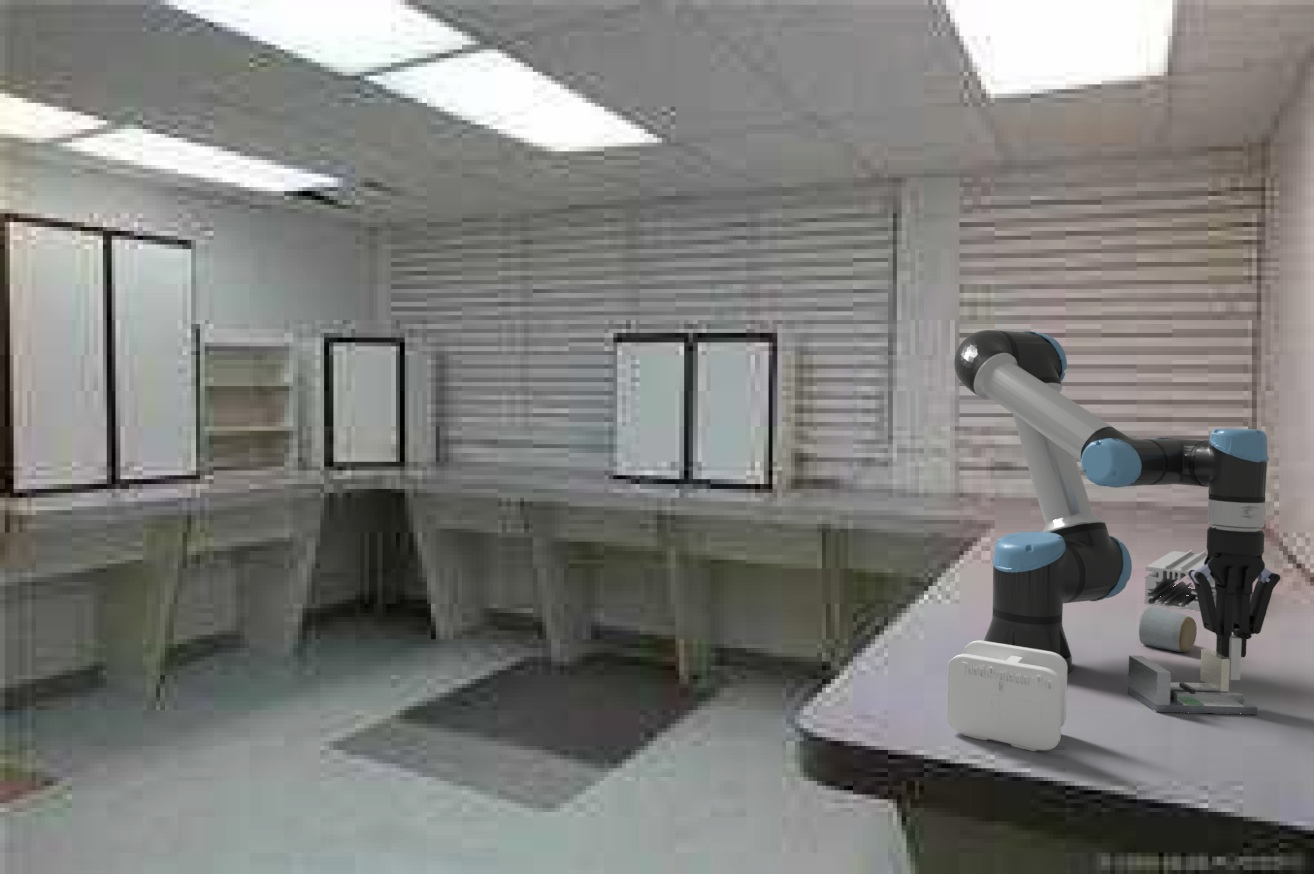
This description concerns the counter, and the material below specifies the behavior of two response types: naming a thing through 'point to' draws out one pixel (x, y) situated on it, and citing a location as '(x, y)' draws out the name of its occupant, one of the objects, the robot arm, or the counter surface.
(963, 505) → the counter surface
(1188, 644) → the grey tan cylinder
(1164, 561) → the aluminum extrusion profile
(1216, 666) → the sliding gauge carriage
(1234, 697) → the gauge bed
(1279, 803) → the counter surface
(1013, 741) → the cable organizer
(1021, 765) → the counter surface
